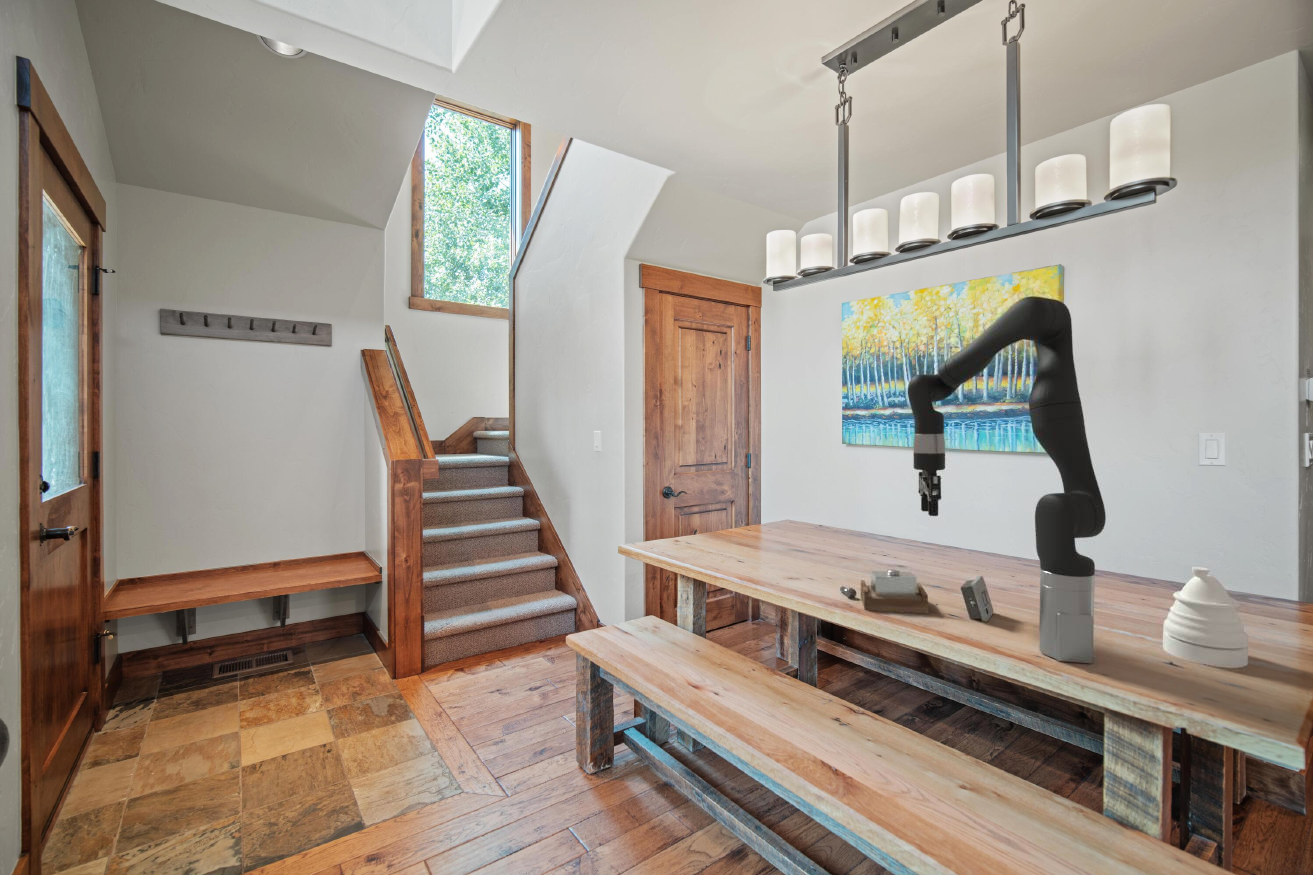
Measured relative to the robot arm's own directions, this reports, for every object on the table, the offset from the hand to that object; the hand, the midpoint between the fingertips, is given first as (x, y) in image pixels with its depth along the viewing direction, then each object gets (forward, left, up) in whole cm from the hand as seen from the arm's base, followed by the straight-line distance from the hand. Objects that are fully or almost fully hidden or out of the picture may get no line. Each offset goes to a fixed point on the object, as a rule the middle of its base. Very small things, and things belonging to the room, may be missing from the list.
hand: (929, 513), depth 157 cm
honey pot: (-24, -48, -24) cm, 59 cm away
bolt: (+3, +20, -24) cm, 31 cm away
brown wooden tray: (-3, +9, -24) cm, 26 cm away
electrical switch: (-8, -10, -24) cm, 27 cm away
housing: (-3, +9, -21) cm, 23 cm away
